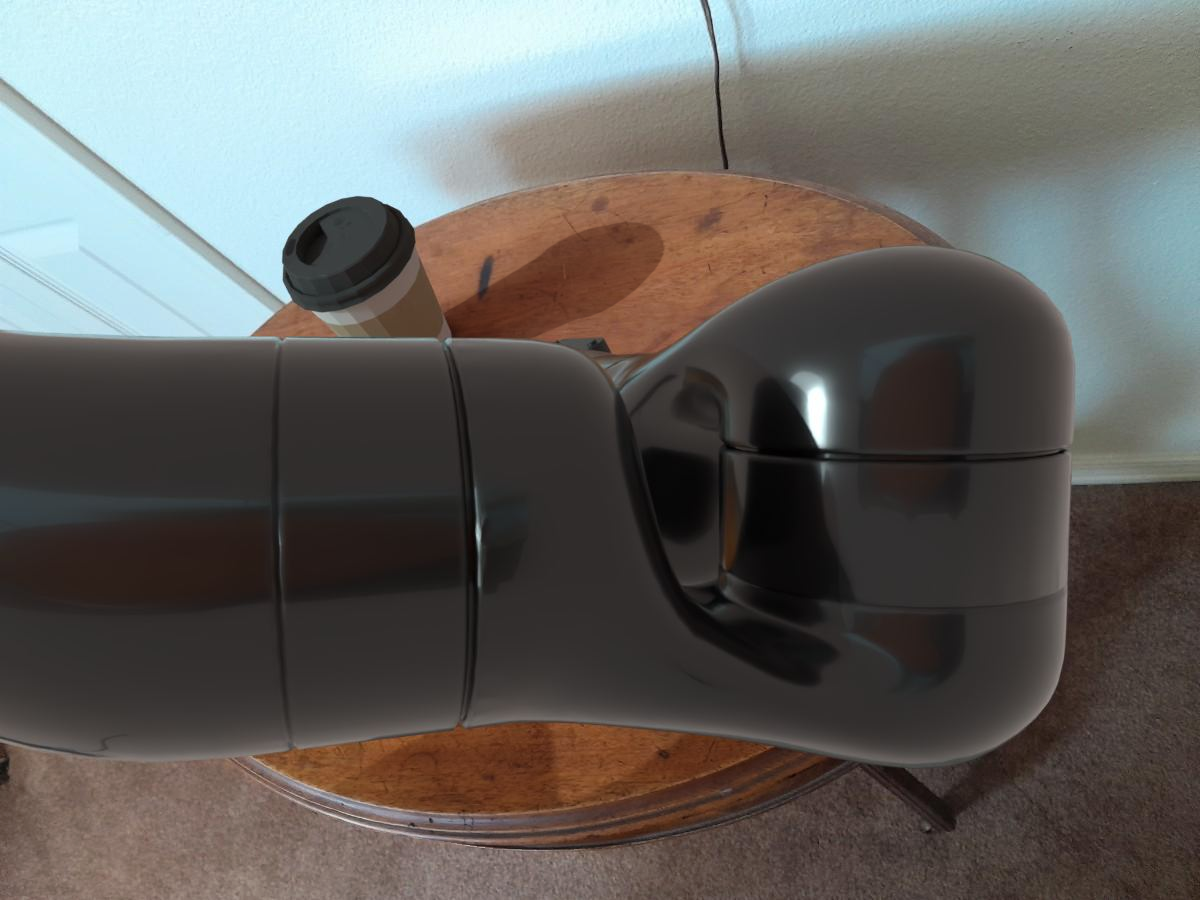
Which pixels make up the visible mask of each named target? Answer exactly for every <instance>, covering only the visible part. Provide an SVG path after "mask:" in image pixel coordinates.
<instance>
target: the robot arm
mask: <svg viewBox="0 0 1200 900" xmlns="http://www.w3.org/2000/svg"><path fill="white" fill-rule="evenodd" d="M1075 407H1076V360H1075V354H1074V348H1073V340H1072V334H1071V332H1070V330H1069V328H1068V325H1067V323H1066V320H1065V318H1064V315H1063V313H1062V312H1061V311H1060V309H1059V308H1058V307H1057V306H1056V304H1055V303H1054V302H1053V300H1052V299H1051V297H1050V296H1049V295H1048V294H1047V293H1046V292H1045V291H1044V290H1043V289H1042V288H1041V287H1039V286H1038V285H1036V284H1035V283H1034V282H1033V281H1031V280H1030V279H1029V278H1028V277H1026V276H1025V275H1024V274H1023V273H1022V272H1019V271H1018V270H1015V269H1014V268H1011V267H1009V266H1007V265H1006V264H1003V263H1001V262H1000V261H998V260H996V259H993V258H992V257H990V256H986V255H983V254H980V253H977V252H973V251H971V250H968V249H967V250H966V249H962V248H956V247H950V246H943V245H932V244H931V245H930V244H929V245H927V244H905V245H904V244H903V245H891V246H890V245H889V246H881V247H874V248H868V249H863V250H859V251H855V252H850V253H846V254H841V255H838V256H834V257H831V258H828V259H824V260H822V261H819V262H815V263H813V264H809V265H806V266H804V267H801V268H798V269H795V270H793V271H792V272H789V273H787V274H785V275H782V276H780V277H778V278H775V279H774V280H772V281H769V282H767V283H765V284H763V285H762V286H759V287H757V288H756V289H754V290H752V291H750V292H748V293H747V294H745V295H742V296H741V297H740V298H738V299H737V300H735V301H733V302H732V303H730V304H728V305H726V306H725V307H723V308H721V309H720V310H718V311H717V312H715V313H714V314H712V315H711V316H709V317H708V318H706V319H705V320H704V321H701V323H699V324H698V325H697V326H695V327H694V328H693V329H690V331H688V332H687V333H686V334H684V335H683V336H681V337H680V338H678V339H677V340H675V341H674V342H673V343H671V344H669V345H667V346H665V347H664V348H662V349H660V350H658V351H653V352H640V353H639V352H637V353H621V354H616V353H613V352H612V350H611V349H610V347H609V345H608V343H607V341H606V340H605V338H604V337H581V338H579V337H577V338H562V339H555V340H554V341H547V340H541V339H532V338H509V337H452V338H445V339H444V340H443V341H442V342H440V341H439V340H438V339H437V338H435V337H339V336H286V337H285V338H284V339H283V338H282V337H281V336H280V337H279V336H158V335H157V336H155V335H127V334H123V335H122V334H99V333H96V334H95V333H73V332H72V333H71V332H69V333H67V332H66V333H65V332H43V331H42V332H41V331H31V330H30V331H29V330H16V329H15V330H12V329H0V743H2V744H6V745H9V746H10V745H11V746H15V747H19V748H23V749H25V750H26V749H27V750H32V751H34V752H41V753H45V754H52V755H53V754H54V755H61V756H69V757H74V758H80V759H81V758H82V759H87V760H95V761H96V760H97V761H98V760H99V761H115V762H116V761H119V762H120V761H121V762H142V763H143V762H144V763H173V762H191V761H208V760H209V761H210V760H226V759H235V758H245V757H255V756H261V755H263V756H264V755H272V754H280V753H288V752H289V753H290V752H292V751H293V750H294V749H296V750H297V751H302V750H309V749H316V748H326V747H333V746H342V745H349V744H357V743H358V744H359V743H365V742H373V741H381V740H388V739H397V738H406V737H413V736H421V735H429V734H439V733H445V732H453V731H455V729H456V728H457V727H458V726H459V727H460V728H461V729H464V730H472V729H479V728H487V727H494V726H495V727H496V726H502V725H511V724H512V725H513V724H541V723H542V724H573V725H575V724H576V725H586V726H587V725H588V726H600V727H601V726H602V727H614V728H615V727H616V728H626V729H635V730H645V731H647V730H648V731H655V732H656V731H657V732H665V733H674V734H684V735H695V736H704V737H712V738H713V737H714V738H720V739H725V740H726V739H727V740H732V741H738V742H745V743H751V744H758V745H764V746H769V747H774V748H780V749H785V750H790V751H795V752H800V753H806V754H810V755H816V756H821V757H826V758H831V759H835V760H843V761H848V762H853V763H858V764H864V765H871V766H881V767H890V768H900V769H908V770H909V769H911V770H924V769H925V770H931V769H941V768H942V769H943V768H949V767H953V766H958V765H962V764H965V763H968V762H971V761H975V760H977V759H979V758H982V757H984V756H985V755H988V754H989V753H991V752H993V751H996V750H998V749H1000V748H1002V747H1003V746H1004V745H1006V744H1007V743H1009V742H1010V741H1012V740H1013V739H1014V738H1016V737H1017V736H1018V735H1020V734H1021V733H1022V732H1023V731H1025V729H1027V727H1029V726H1030V725H1031V724H1032V723H1033V722H1034V721H1035V720H1036V719H1037V718H1038V717H1039V716H1040V715H1041V713H1042V712H1043V711H1044V709H1045V708H1046V706H1047V705H1048V704H1049V702H1051V699H1052V697H1053V696H1054V694H1055V692H1056V689H1057V687H1058V685H1059V683H1060V678H1061V673H1062V669H1063V666H1064V661H1065V654H1066V642H1067V641H1066V639H1067V625H1068V624H1067V623H1068V592H1069V587H1068V585H1069V584H1068V581H1069V556H1070V555H1069V553H1070V531H1071V530H1070V528H1071V526H1070V525H1071V505H1072V504H1071V501H1072V477H1073V455H1074V454H1073V452H1072V451H1070V450H1069V449H1068V448H1069V447H1070V446H1071V445H1072V444H1073V442H1074V431H1075V429H1074V428H1075V409H1076V408H1075Z"/></svg>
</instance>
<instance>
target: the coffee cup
mask: <svg viewBox="0 0 1200 900" xmlns="http://www.w3.org/2000/svg"><path fill="white" fill-rule="evenodd" d="M415 232H416V231H415V228H414V226H413V225H412V223H411V222H410V221H409V219H408V218H407V217H405V215H404V214H403V213H402V211H401V210H400V209H398V208H396V207H394V206H392V205H390V204H388V203H383V202H382V201H381V200H379V199H377V198H375V197H372V196H363V195H355V196H354V195H353V196H348V197H343V198H340V199H337V200H334V201H332V202H328V203H326V204H324V205H322V206H321V207H320V208H318V209H316V210H314V211H313V212H310V214H308V215H307V216H306V217H305V218H304V219H302V220H301V221H300V222H299V223H298V224H297V225H296V227H295V228H294V229H293V230H292V232H291V233H290V234H289V236H288V237H287V239H286V242H285V243H284V247H283V248H282V253H281V263H282V283H283V286H284V287H285V289H286V291H287V293H288V294H289V296H290V299H291V301H292V302H293V303H294V304H296V305H297V306H298V307H300V308H301V309H303V310H305V311H310V312H312V313H313V314H314V315H315V316H316V317H317V318H318V319H319V320H320V321H321V322H323V323H324V325H326V326H327V327H328V328H329V329H330V330H331V331H332V332H333V333H334V334H335V335H336V336H337V337H435V338H437V339H438V340H439V341H440V342H442V341H443V340H444V339H445V338H453V337H452V336H453V335H452V331H451V329H450V327H449V324H448V321H447V320H446V317H445V314H444V313H443V309H442V308H441V305H440V303H439V300H438V298H437V295H436V293H435V291H434V289H433V286H432V283H431V281H430V279H429V277H428V274H427V272H426V269H425V267H424V264H423V262H422V260H421V257H420V255H419V253H418V250H417V248H416V243H417V241H416V233H415Z"/></svg>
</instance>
